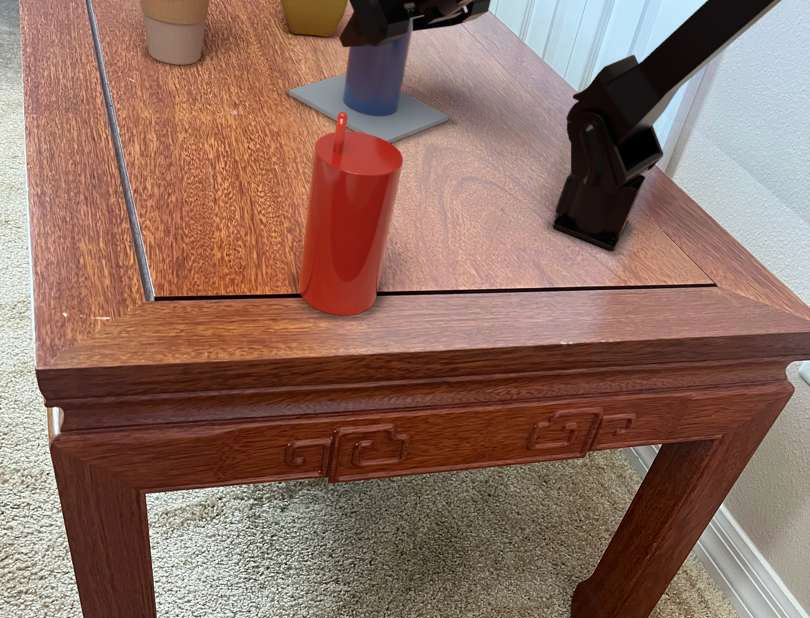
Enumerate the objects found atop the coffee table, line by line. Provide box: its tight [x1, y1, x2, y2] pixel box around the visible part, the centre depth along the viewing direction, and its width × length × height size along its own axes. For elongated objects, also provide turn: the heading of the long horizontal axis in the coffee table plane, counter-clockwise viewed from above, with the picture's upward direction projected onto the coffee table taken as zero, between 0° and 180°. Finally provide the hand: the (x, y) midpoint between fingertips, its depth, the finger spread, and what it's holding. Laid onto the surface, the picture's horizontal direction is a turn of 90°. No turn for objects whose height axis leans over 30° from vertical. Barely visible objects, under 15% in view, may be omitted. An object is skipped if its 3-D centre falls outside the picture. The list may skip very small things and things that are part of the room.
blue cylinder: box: [343, 6, 416, 116], centre depth 88 cm, size 6×6×15 cm
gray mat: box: [288, 72, 449, 144], centre depth 94 cm, size 14×12×1 cm
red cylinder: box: [298, 112, 404, 316], centre depth 62 cm, size 6×6×16 cm
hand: (370, 35), depth 89 cm, fingers open, 9 cm apart
